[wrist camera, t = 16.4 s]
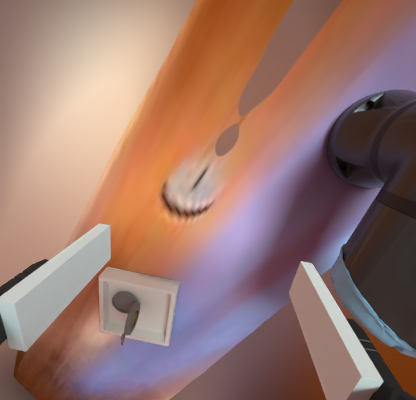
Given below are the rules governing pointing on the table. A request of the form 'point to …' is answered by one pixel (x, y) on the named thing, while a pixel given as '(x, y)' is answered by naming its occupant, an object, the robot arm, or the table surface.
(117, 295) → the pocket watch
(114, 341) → the table surface
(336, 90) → the table surface
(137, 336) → the tray
